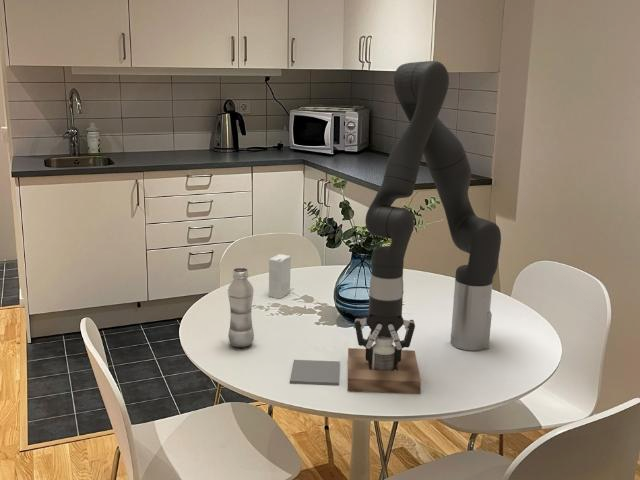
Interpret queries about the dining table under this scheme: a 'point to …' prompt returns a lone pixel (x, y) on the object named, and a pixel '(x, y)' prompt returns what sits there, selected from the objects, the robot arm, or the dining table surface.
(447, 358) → the dining table surface
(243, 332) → the plastic bottle
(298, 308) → the dining table surface
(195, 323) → the dining table surface
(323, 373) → the charcoal mat
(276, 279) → the skincare box
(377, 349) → the pill bottle
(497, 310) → the dining table surface
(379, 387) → the walnut dock
